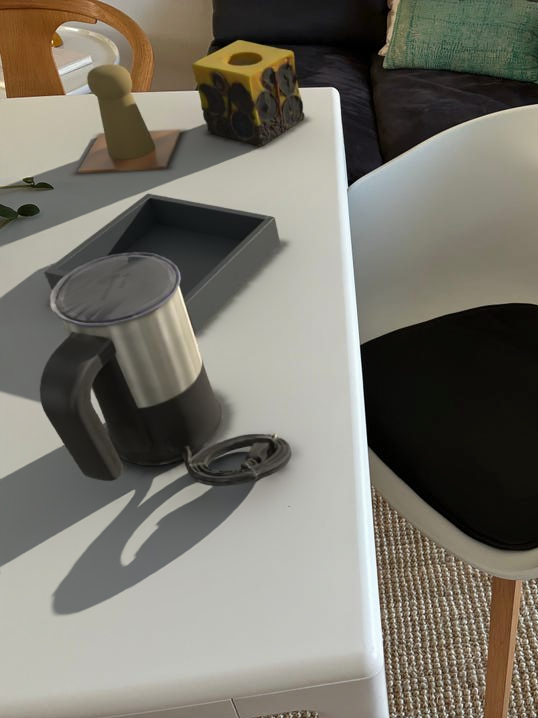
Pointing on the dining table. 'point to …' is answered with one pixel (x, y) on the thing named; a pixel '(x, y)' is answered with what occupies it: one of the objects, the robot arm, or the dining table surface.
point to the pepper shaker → (119, 112)
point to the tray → (185, 248)
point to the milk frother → (138, 377)
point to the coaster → (154, 160)
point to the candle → (249, 92)
